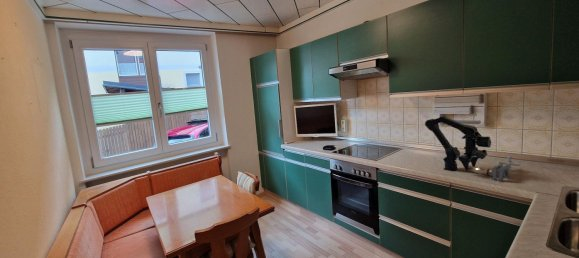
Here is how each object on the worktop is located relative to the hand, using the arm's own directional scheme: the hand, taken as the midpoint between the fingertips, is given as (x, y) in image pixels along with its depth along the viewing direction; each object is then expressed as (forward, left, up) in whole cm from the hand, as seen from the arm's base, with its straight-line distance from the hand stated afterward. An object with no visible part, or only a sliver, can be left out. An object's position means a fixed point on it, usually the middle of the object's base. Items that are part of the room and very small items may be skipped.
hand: (470, 168), depth 167 cm
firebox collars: (+17, 0, -3) cm, 17 cm away
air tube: (+5, +1, -2) cm, 5 cm away
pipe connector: (+14, +19, -3) cm, 24 cm away
